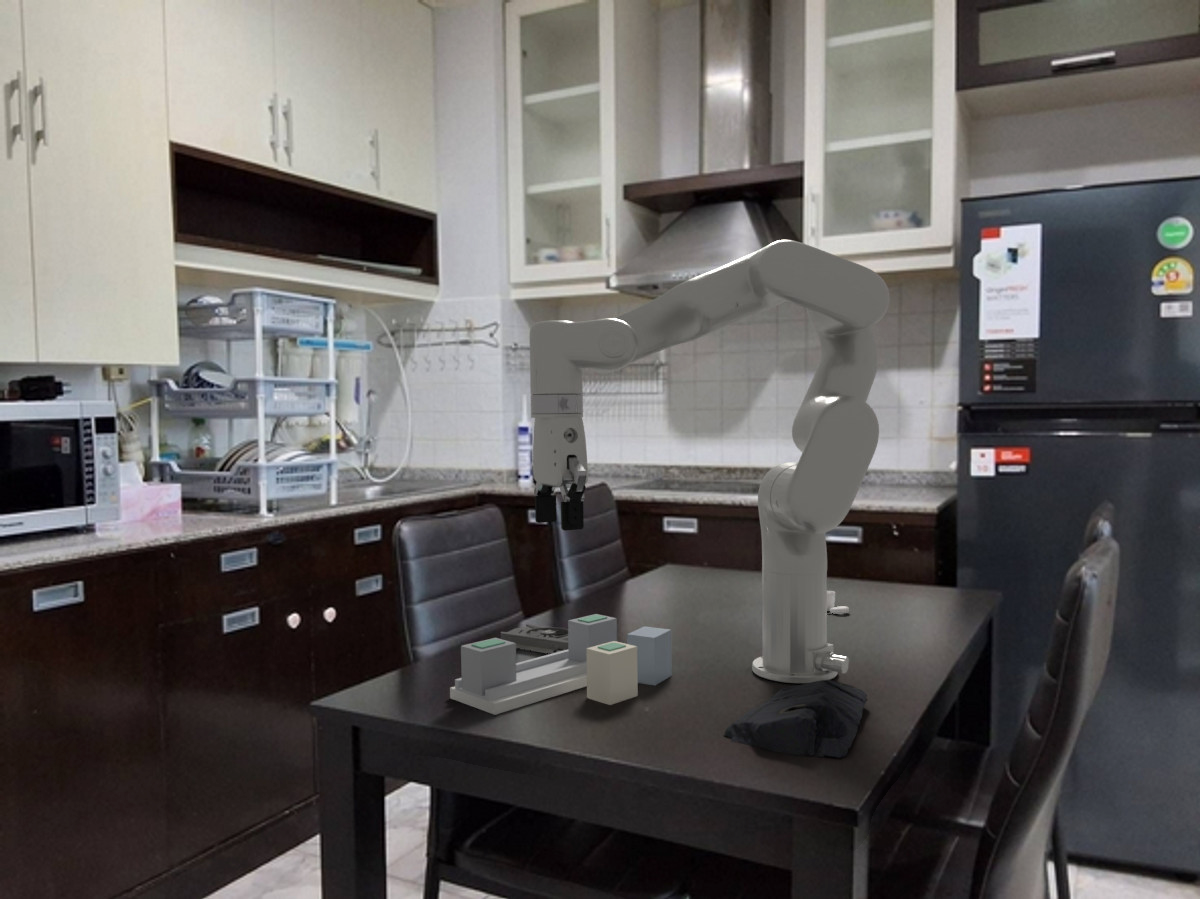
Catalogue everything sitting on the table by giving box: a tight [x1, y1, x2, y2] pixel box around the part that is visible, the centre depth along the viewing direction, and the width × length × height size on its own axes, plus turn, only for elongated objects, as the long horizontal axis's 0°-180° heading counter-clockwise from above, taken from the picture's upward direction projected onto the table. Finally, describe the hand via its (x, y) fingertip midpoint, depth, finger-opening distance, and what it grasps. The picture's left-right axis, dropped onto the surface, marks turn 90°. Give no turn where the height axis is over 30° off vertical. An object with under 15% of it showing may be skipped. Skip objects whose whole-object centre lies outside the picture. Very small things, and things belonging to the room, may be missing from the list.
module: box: [626, 626, 673, 686], centre depth 135 cm, size 4×6×7 cm
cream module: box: [586, 640, 639, 706], centre depth 127 cm, size 4×6×7 cm
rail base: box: [449, 650, 587, 716], centre depth 133 cm, size 10×26×3 cm, turn 135°
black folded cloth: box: [723, 679, 868, 759], centre depth 116 cm, size 15×22×5 cm
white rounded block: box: [827, 590, 850, 615], centre depth 178 cm, size 9×8×4 cm
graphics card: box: [500, 623, 568, 655], centre depth 155 cm, size 17×4×12 cm
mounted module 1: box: [460, 637, 517, 696], centre depth 126 cm, size 4×6×6 cm
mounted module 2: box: [567, 613, 618, 663], centre depth 140 cm, size 4×6×6 cm
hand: (558, 525), depth 132 cm, fingers open, 9 cm apart
